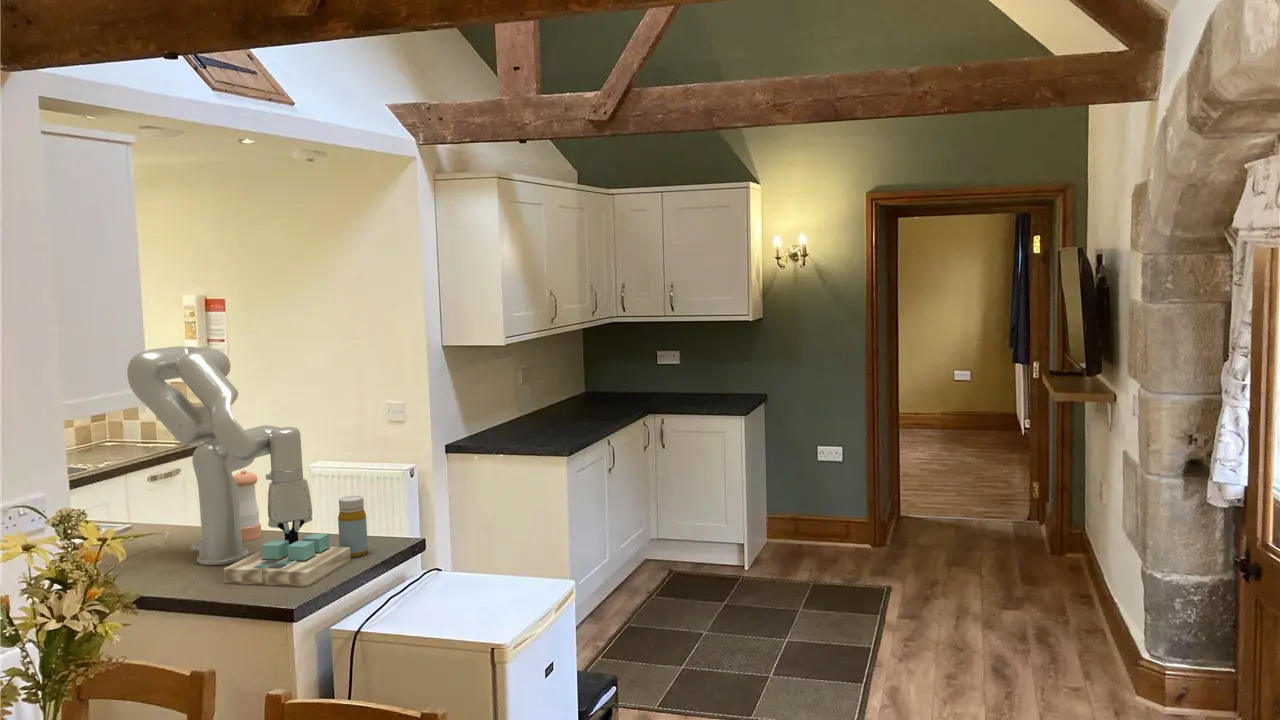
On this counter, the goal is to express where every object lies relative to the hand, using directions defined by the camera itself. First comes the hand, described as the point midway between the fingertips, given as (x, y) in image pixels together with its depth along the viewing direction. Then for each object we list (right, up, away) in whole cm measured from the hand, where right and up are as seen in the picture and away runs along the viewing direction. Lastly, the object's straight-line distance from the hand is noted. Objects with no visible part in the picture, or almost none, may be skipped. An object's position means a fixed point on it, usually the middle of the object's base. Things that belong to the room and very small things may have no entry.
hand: (292, 546), depth 256 cm
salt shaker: (-22, -3, +26) cm, 34 cm away
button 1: (-2, -1, -7) cm, 7 cm away
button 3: (+5, -1, -8) cm, 10 cm away
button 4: (+7, -1, -1) cm, 7 cm away
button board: (+2, -5, -7) cm, 9 cm away
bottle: (+14, -4, +7) cm, 16 cm away
